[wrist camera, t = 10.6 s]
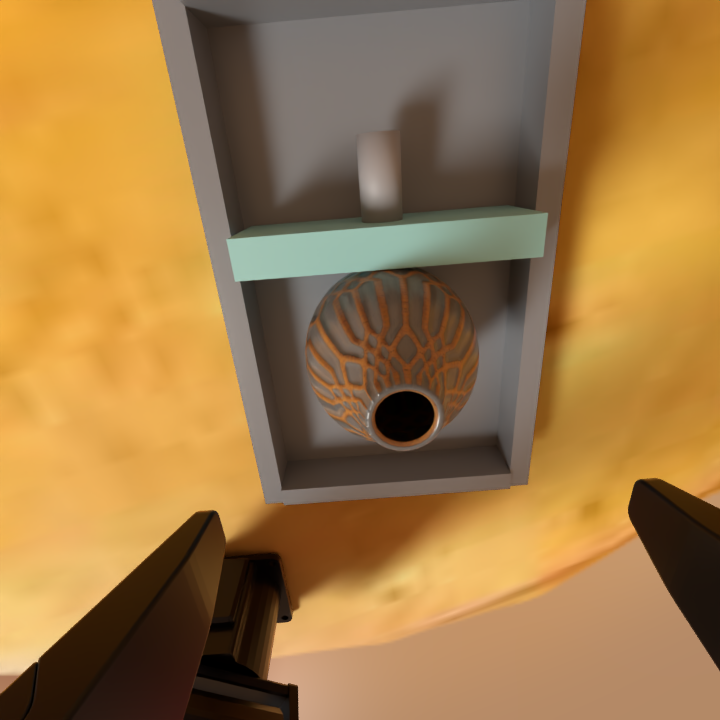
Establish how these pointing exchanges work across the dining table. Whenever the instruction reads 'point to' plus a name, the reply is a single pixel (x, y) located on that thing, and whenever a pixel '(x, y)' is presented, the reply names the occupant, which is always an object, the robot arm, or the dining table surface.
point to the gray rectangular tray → (342, 200)
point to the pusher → (386, 230)
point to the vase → (392, 356)
